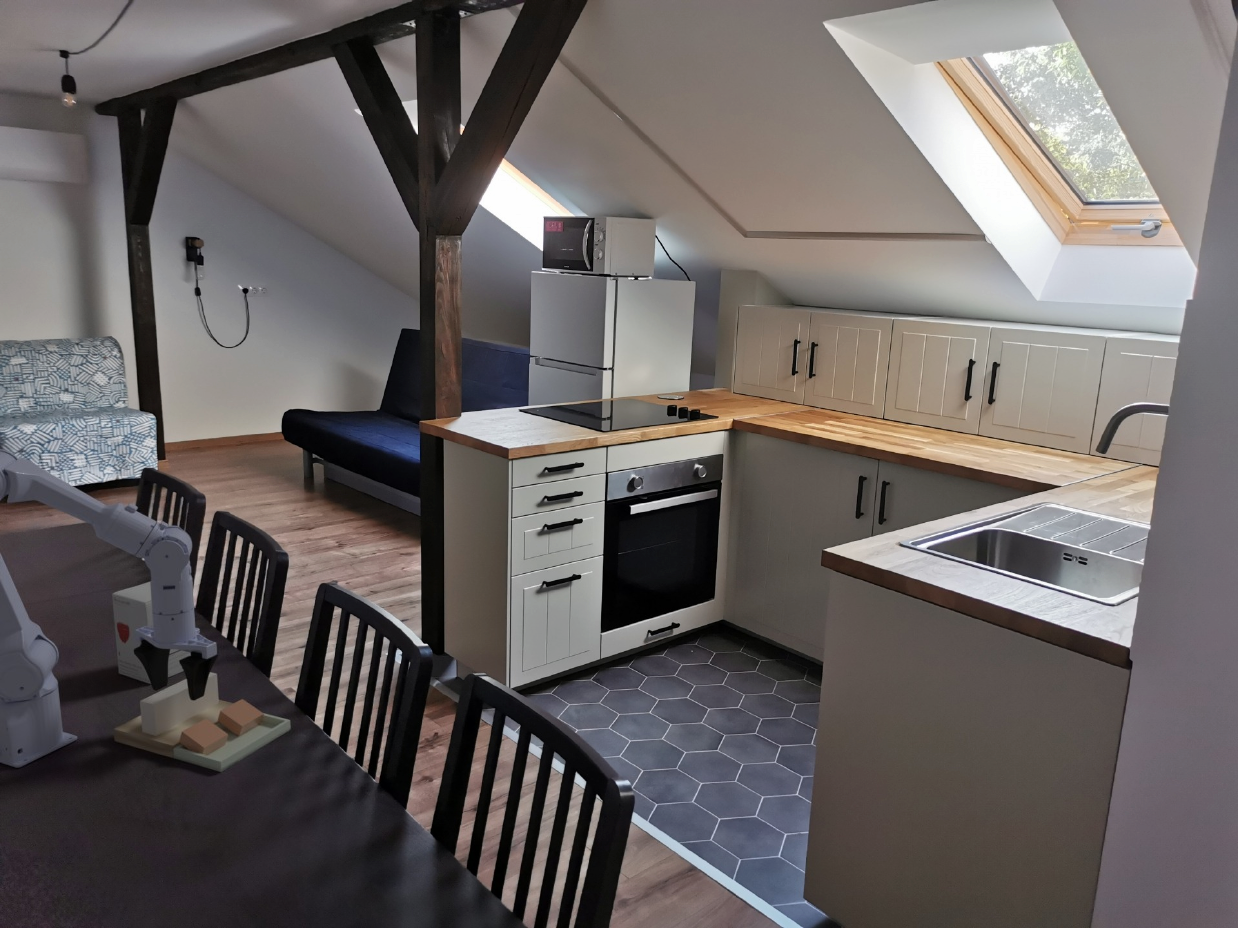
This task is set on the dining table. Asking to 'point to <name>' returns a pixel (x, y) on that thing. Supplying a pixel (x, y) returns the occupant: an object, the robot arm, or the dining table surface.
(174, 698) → the push bar
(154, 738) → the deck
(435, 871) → the dining table surface
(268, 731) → the tray
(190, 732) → the tile
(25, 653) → the robot arm
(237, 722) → the tile
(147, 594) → the supplement box
